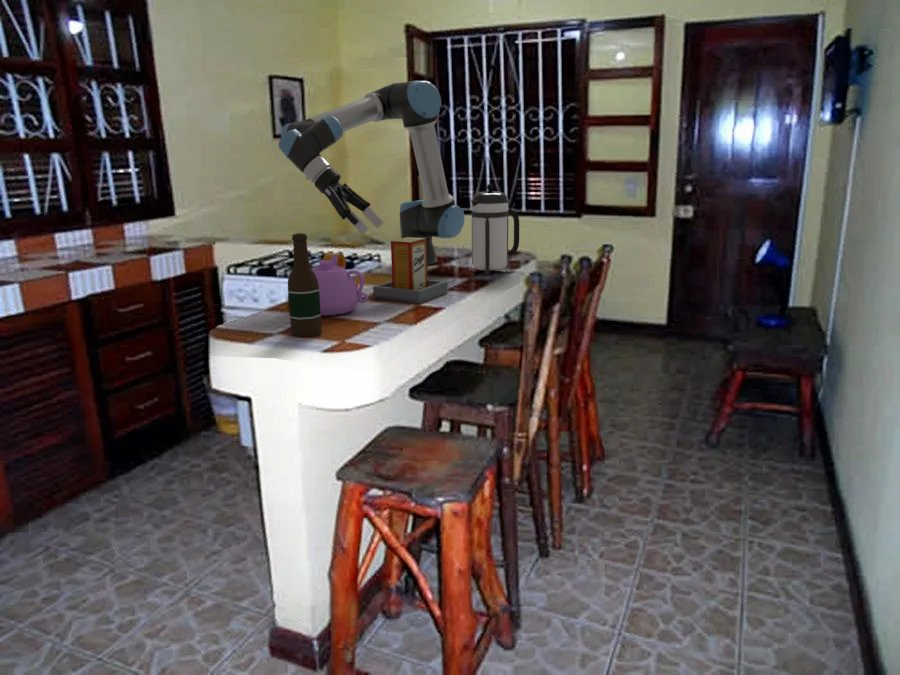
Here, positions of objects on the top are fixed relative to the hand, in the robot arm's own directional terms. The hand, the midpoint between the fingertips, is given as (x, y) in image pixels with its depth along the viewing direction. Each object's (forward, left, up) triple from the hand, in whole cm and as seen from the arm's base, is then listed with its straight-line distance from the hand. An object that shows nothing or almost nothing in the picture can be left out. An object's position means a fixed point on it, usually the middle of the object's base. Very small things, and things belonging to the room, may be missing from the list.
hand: (373, 228), depth 205 cm
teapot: (+22, 0, -20) cm, 30 cm away
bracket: (+3, -11, -20) cm, 23 cm away
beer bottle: (+44, +11, -20) cm, 50 cm away
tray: (-3, +11, -20) cm, 23 cm away
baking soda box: (-3, +10, -19) cm, 22 cm away
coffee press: (-48, +15, -20) cm, 54 cm away
